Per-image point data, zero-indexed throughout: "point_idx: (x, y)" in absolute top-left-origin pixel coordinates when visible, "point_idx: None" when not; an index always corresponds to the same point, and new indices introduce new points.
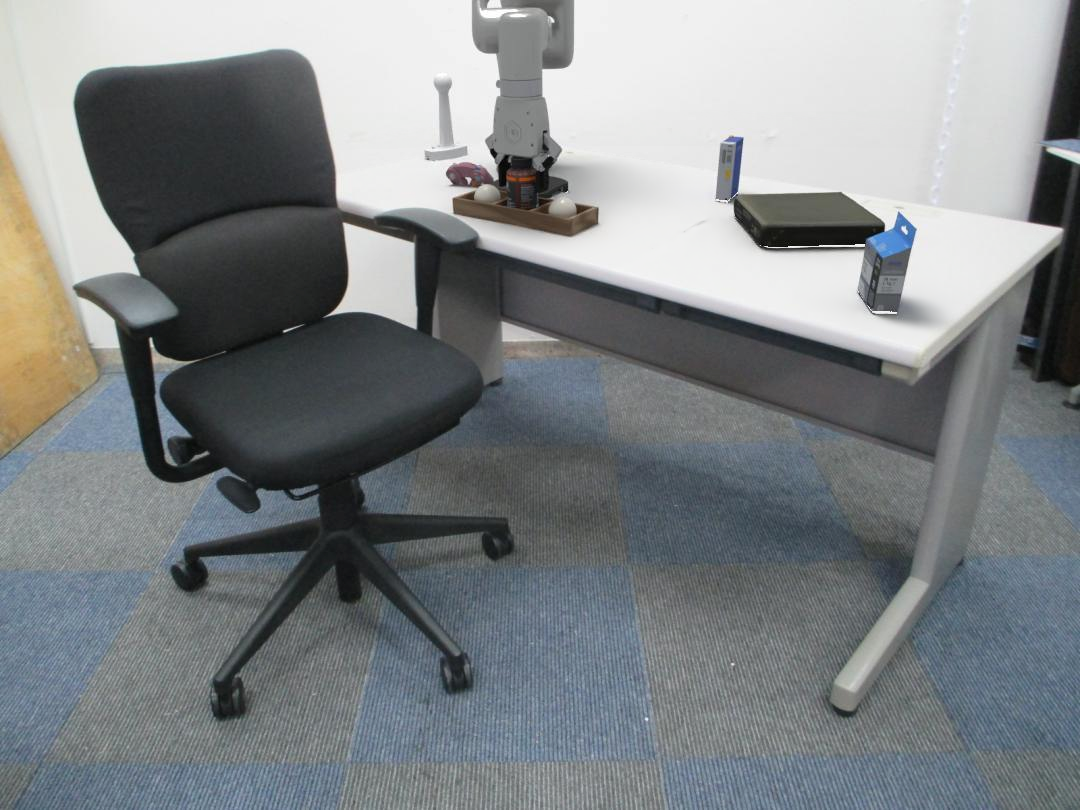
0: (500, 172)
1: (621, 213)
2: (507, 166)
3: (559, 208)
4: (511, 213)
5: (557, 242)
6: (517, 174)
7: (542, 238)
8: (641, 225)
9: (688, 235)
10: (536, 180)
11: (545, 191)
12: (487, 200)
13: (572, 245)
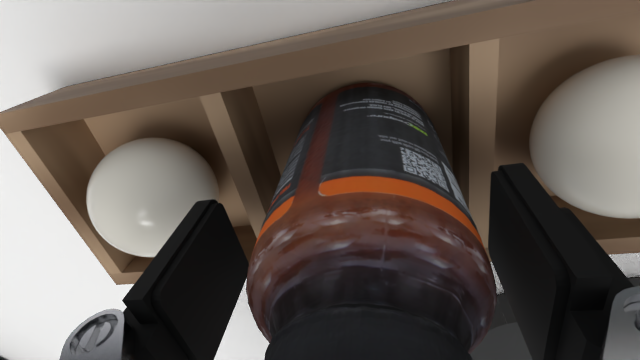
0: (543, 227)
1: (230, 339)
2: (537, 326)
3: (99, 170)
4: (311, 42)
5: (64, 39)
6: (299, 227)
7: (137, 33)
8: (118, 299)
9: (7, 298)
10: (174, 245)
11: (481, 357)
12: (579, 89)
13: (11, 53)
